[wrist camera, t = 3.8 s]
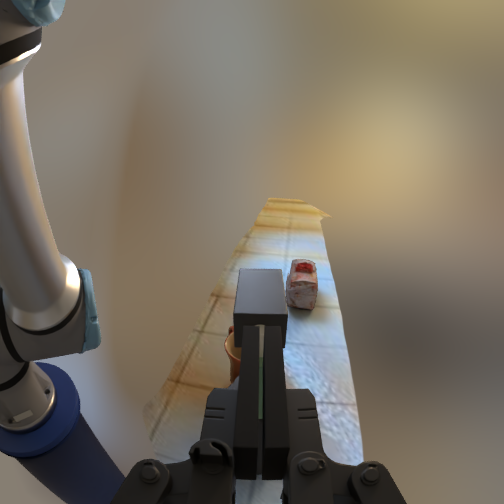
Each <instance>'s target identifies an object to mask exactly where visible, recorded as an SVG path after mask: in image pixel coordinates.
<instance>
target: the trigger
mask: <svg viewBox="0 0 504 504" xmlns="http://www.w3.org/2000/svg"><path fill="white" fill-rule="evenodd" d="M262 405H263V357H259V419H262Z"/></svg>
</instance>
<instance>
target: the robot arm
mask: <svg viewBox="0 0 504 504" xmlns="http://www.w3.org/2000/svg"><path fill="white" fill-rule="evenodd" d="M64 4H65V0H0V427H1V428H2V429H3V430H5V431H7V432H9V433H12V434H26V433H30V432H33V431H35V430H37V429H39V428H40V427H42V426H43V425H44V424H45V423H46V422H47V421H48V420H49V419H50V418H51V416H52V415H53V413H54V411H55V408H56V405H57V391H56V388H55V386H54V385H53V383H52V381H51V379H50V378H49V376H48V375H47V374H46V373H45V372H44V371H42V370H41V369H40V368H39V367H38V366H37V365H36V364H35V363H34V362H33V361H34V360H40V359H47V358H52V357H58V356H64V355H69V354H74V353H79V354H80V353H83V352H85V351H88V350H91V349H95V348H97V347H98V346H99V345H100V343H101V333H100V327H99V322H98V317H97V309H96V302H95V296H94V289H93V283H92V277H91V273H90V271H89V270H87V269H81V268H80V269H76V267H75V265H74V264H73V262H72V261H71V260H70V259H68V258H67V257H66V256H64V255H62V254H60V253H59V252H58V249H57V246H56V243H55V240H54V237H53V234H52V231H51V228H50V224H49V221H48V218H47V214H46V211H45V207H44V204H43V200H42V196H41V192H40V188H39V184H38V180H37V175H36V171H35V166H34V161H33V156H32V150H31V145H30V139H29V132H28V125H27V117H26V109H25V98H24V87H23V70H24V68H25V66H26V65H27V63H28V62H29V61H30V60H31V58H32V57H33V56H34V54H35V53H36V52H37V51H38V49H39V48H40V46H41V33H42V26H48V24H50V23H52V22H54V21H56V20H57V19H58V18H59V17H60V16H61V14H62V12H63V8H64ZM259 349H260V326H243V336H242V347H241V359H240V370H239V382H238V389H224V388H214V389H213V391H212V392H211V393H210V395H209V396H208V398H207V404H206V409H205V415H204V420H203V426H202V432H201V437H200V441H198V442H196V443H195V444H194V445H193V446H192V447H191V449H190V451H189V455H190V459H188V460H186V461H183V462H179V463H172V464H163V463H162V462H160V461H158V460H154V459H146V460H142V461H140V462H137V463H136V465H135V466H134V467H133V468H132V469H131V471H130V473H129V474H128V476H127V477H126V479H125V480H124V482H123V484H122V485H121V487H120V488H119V490H118V492H117V493H116V495H115V496H114V498H113V500H112V501H111V503H110V504H235V497H236V490H235V485H236V479H241V480H256V474H257V457H258V421H259ZM316 409H317V408H316V402H315V397H314V396H313V395H312V393H311V392H310V390H309V389H286V384H285V371H284V359H283V347H282V336H281V326H264V347H263V405H262V480H282V479H283V490H282V494H281V498H280V499H282V504H407V503H406V502H405V500H404V498H403V496H402V495H401V493H400V491H399V489H398V488H397V486H396V484H395V482H394V481H393V479H392V477H391V475H390V473H389V472H388V470H387V469H386V468H385V466H384V465H383V464H380V463H379V462H375V461H367V462H362V463H361V464H359V465H357V466H352V465H346V464H340V463H337V462H334V461H332V460H331V459H330V458H328V457H327V456H326V454H325V453H324V450H323V446H322V440H321V433H320V427H319V420H318V414H317V410H316Z"/></svg>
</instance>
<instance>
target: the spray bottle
mask: <svg viewBox="0 0 504 504" xmlns="http://www.w3.org/2000/svg"><path fill="white" fill-rule="evenodd" d="M287 319H288V312H287V305H286V297H285V290H284V283H283V276H282V270H281V269H243V268H241V269H240V271H239V278H238V285H237V292H236V299H235V306H234V312H233V321H234V347H237V348H241V347H242V336H243V326H260V349H259V357H263V347H264V326H281V336H282V347H283V348H285V341H286V330H287ZM238 382H239V376H238V377H237V378H236V379H235V381H234V382H233V383H232V384H231V385H230V386H229V387H228V389H238ZM260 474H262V419H259V421H258V457H257V474H256V475H260Z"/></svg>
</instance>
